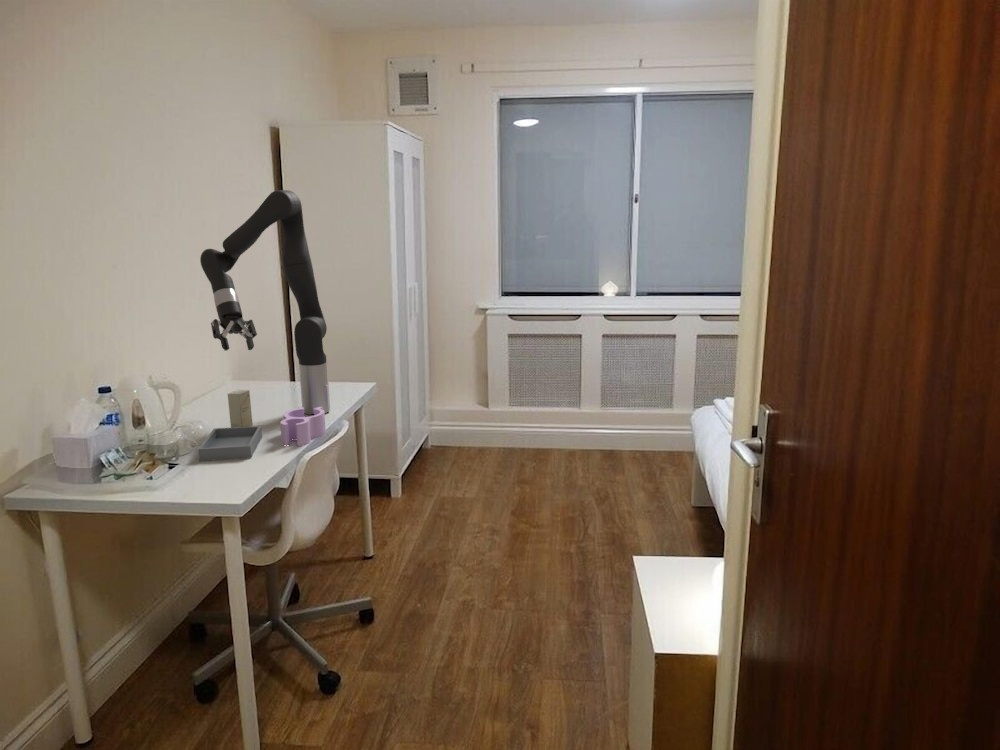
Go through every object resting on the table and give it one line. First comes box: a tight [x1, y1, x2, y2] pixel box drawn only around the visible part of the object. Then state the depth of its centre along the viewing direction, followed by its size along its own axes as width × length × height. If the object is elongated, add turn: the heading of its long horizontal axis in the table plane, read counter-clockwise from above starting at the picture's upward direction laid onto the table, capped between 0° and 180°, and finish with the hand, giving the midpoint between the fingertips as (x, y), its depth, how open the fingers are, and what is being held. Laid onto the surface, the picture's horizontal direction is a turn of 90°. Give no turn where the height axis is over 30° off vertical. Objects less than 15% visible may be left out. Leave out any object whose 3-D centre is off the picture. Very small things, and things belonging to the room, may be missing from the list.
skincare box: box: [227, 389, 254, 428], centre depth 232 cm, size 6×4×12 cm
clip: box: [279, 406, 327, 447], centre depth 224 cm, size 20×12×7 cm, turn 178°
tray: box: [197, 425, 263, 462], centre depth 213 cm, size 14×20×4 cm
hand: (239, 349), depth 238 cm, fingers open, 8 cm apart
